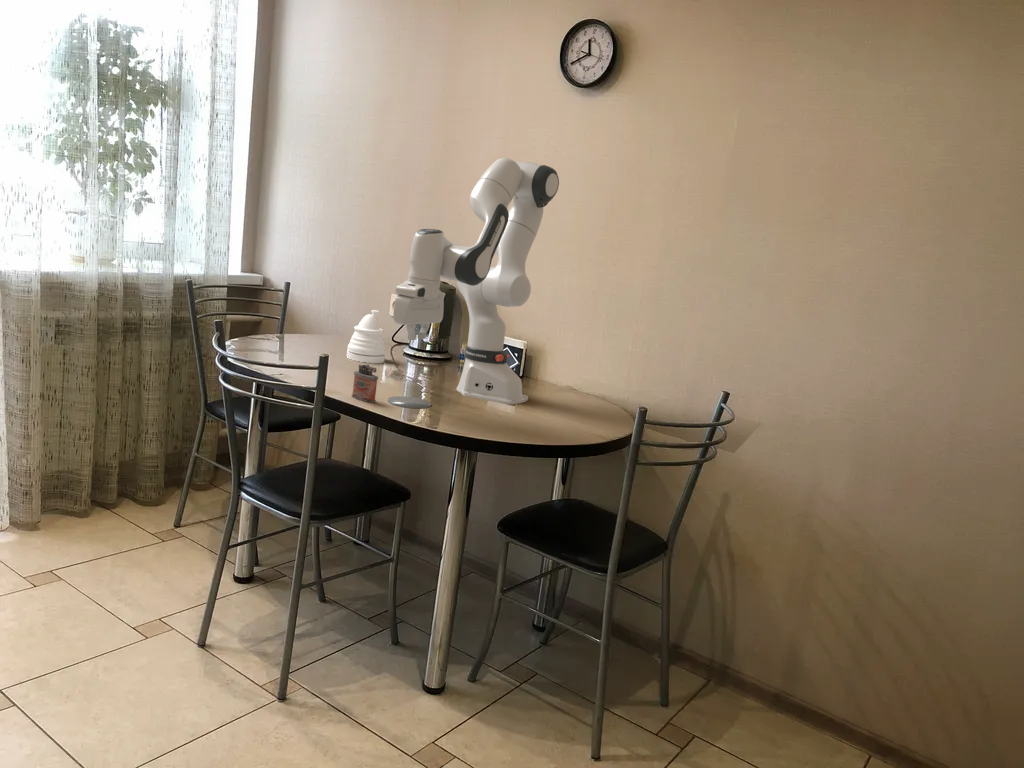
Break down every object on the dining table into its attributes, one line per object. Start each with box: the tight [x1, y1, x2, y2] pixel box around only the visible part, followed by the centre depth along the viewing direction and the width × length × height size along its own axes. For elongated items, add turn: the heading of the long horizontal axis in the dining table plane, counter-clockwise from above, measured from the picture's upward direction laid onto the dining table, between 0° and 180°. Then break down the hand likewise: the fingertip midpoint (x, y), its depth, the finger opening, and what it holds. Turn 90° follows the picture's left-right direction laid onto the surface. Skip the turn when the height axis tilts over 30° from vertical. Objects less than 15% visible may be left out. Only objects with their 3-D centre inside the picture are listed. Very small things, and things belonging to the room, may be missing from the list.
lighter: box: [351, 363, 379, 404], centre depth 217 cm, size 8×3×10 cm, turn 54°
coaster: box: [387, 395, 432, 410], centre depth 221 cm, size 12×12×1 cm
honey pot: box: [346, 309, 386, 364], centre depth 272 cm, size 13×13×18 cm
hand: (416, 339), depth 218 cm, fingers open, 3 cm apart
